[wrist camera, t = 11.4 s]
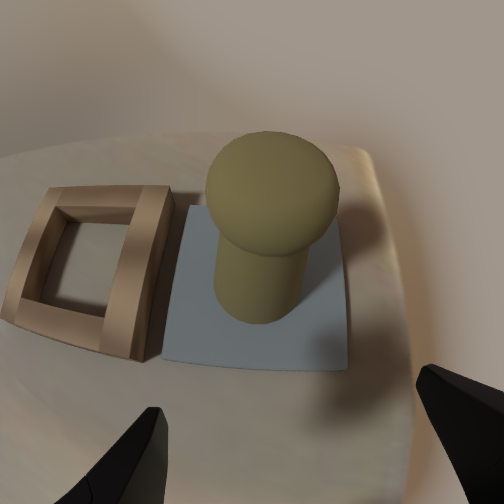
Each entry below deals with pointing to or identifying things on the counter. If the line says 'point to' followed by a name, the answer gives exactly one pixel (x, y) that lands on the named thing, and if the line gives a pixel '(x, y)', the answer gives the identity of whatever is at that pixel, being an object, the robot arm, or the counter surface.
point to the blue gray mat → (255, 335)
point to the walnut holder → (126, 277)
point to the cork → (267, 220)
